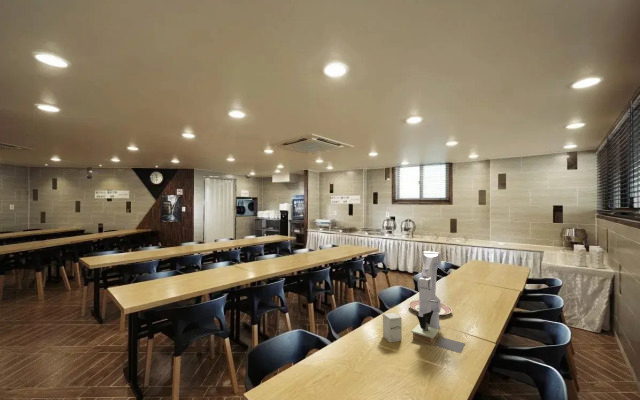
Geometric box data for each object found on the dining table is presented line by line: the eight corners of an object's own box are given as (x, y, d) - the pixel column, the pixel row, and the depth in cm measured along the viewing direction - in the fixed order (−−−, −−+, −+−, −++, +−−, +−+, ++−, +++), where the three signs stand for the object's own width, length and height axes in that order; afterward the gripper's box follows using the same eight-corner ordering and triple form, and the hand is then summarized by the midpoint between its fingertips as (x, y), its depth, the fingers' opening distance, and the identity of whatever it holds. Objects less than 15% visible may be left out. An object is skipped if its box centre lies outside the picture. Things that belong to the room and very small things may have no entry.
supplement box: (389, 343, 141) (389, 318, 142) (382, 337, 148) (382, 313, 149) (402, 341, 143) (401, 317, 144) (394, 335, 150) (394, 312, 151)
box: (419, 333, 153) (419, 326, 153) (438, 338, 146) (438, 330, 147) (412, 339, 145) (412, 332, 145) (432, 345, 139) (432, 337, 139)
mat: (441, 337, 147) (441, 336, 147) (465, 344, 140) (465, 343, 140) (434, 346, 138) (434, 345, 138) (460, 354, 130) (460, 353, 131)
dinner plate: (443, 304, 199) (443, 300, 199) (459, 319, 172) (458, 314, 172) (405, 303, 202) (405, 299, 202) (414, 318, 175) (414, 313, 175)
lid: (418, 325, 154) (418, 317, 154) (439, 330, 147) (439, 322, 147) (411, 332, 145) (411, 324, 145) (433, 338, 138) (432, 329, 138)
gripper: (421, 295, 155) (422, 320, 154) (412, 302, 143) (413, 328, 143) (434, 298, 150) (435, 323, 150) (426, 305, 139) (426, 332, 138)
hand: (425, 326), depth 146 cm, fingers open, 7 cm apart
